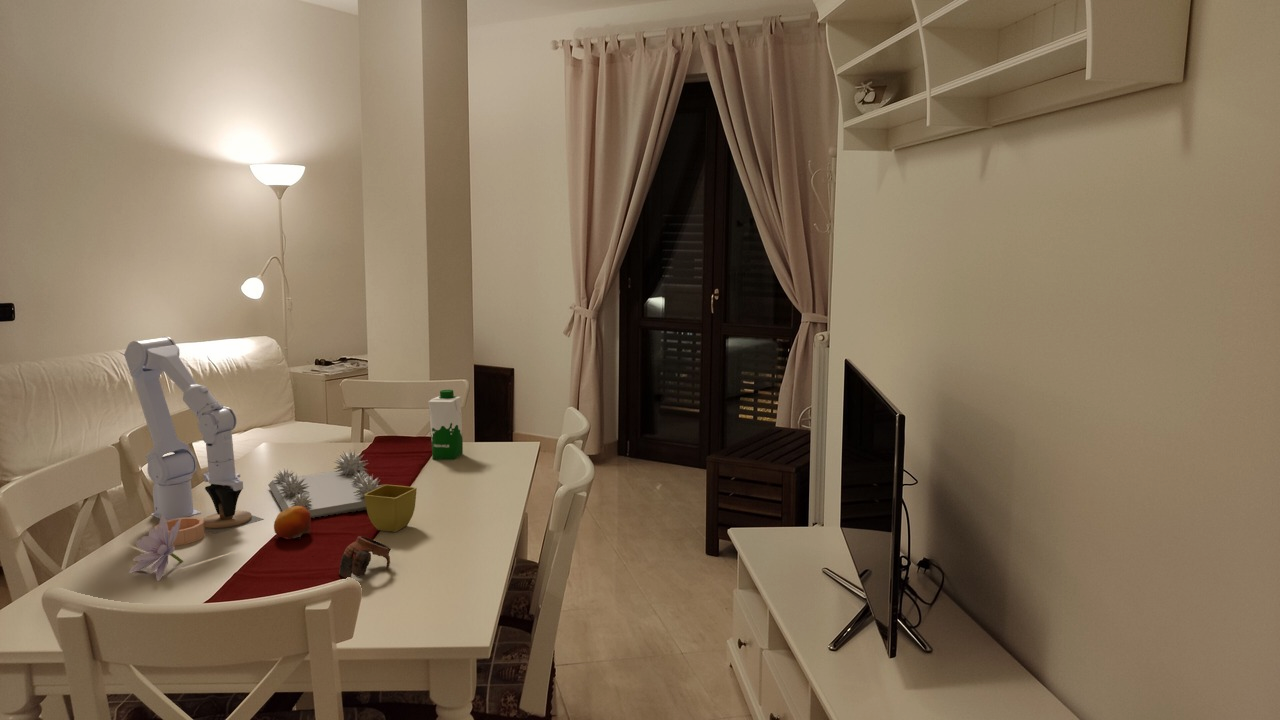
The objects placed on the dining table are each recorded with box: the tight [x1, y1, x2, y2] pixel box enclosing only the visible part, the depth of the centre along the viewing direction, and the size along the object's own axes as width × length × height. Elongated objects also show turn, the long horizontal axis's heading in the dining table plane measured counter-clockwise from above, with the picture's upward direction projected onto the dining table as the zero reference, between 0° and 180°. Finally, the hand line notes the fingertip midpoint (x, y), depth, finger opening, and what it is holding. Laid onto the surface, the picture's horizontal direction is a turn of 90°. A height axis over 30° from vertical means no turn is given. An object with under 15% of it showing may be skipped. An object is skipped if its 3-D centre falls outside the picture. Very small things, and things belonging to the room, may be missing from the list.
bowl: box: [153, 516, 206, 547], centre depth 201 cm, size 10×10×4 cm
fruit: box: [273, 506, 312, 539], centre depth 202 cm, size 8×8×8 cm
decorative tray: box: [268, 449, 384, 519], centre depth 230 cm, size 35×26×10 cm
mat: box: [205, 514, 265, 535], centre depth 212 cm, size 12×12×1 cm
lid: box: [202, 503, 253, 529], centre depth 212 cm, size 11×11×4 cm
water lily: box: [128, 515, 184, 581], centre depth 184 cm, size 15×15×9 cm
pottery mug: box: [338, 535, 392, 579], centre depth 178 cm, size 12×10×8 cm
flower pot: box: [364, 484, 417, 533], centre depth 205 cm, size 9×9×9 cm
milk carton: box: [427, 389, 464, 461], centre depth 268 cm, size 9×9×20 cm
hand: (226, 514), depth 212 cm, fingers closed on lid, 3 cm apart
